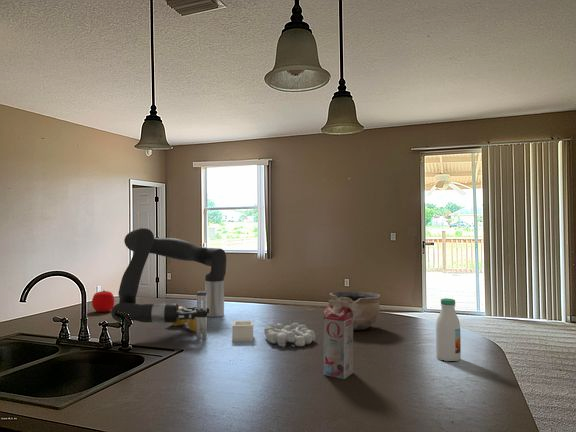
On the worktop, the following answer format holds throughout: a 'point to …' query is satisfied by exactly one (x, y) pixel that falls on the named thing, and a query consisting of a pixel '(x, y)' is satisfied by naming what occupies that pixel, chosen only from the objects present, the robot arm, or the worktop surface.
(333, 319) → the juice carton
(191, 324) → the dumbbell
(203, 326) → the grey long square block
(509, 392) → the worktop surface
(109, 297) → the tomato
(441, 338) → the milk bottle
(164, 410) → the worktop surface
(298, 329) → the campfire
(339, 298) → the ceramic bowl
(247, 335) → the open box
